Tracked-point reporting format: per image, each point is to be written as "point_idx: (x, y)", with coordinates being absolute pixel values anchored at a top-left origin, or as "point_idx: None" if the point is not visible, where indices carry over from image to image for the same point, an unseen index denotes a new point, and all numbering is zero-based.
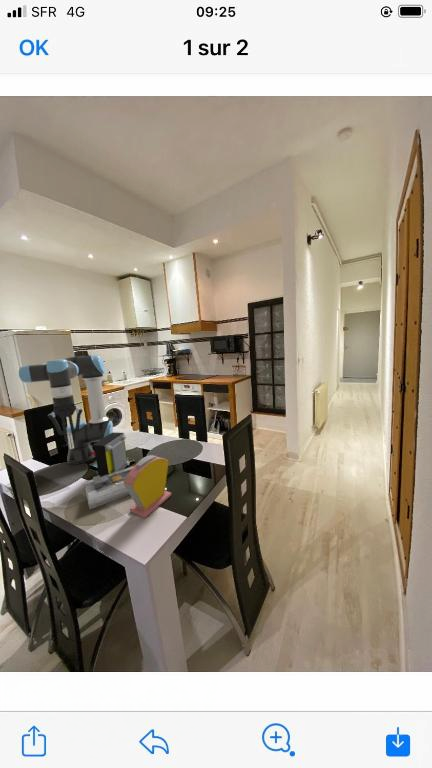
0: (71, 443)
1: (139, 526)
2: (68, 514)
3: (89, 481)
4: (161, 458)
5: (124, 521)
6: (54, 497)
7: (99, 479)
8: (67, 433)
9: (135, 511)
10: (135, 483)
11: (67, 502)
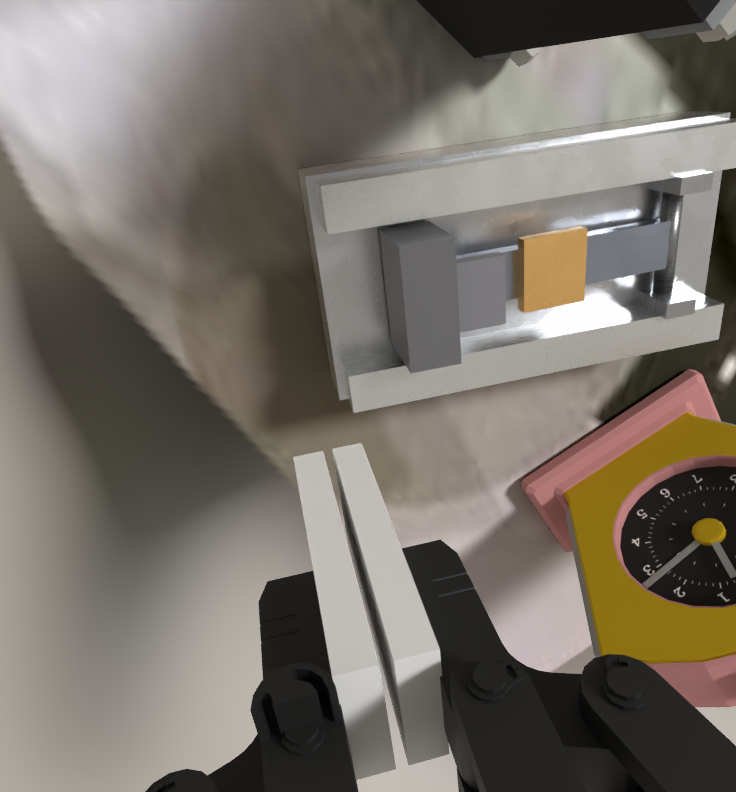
0: (364, 598)
1: (527, 574)
2: (211, 367)
3: (355, 205)
4: None
5: (482, 529)
6: (32, 68)
7: (447, 316)
8: (342, 672)
9: (543, 516)
10: None
11: (172, 218)
